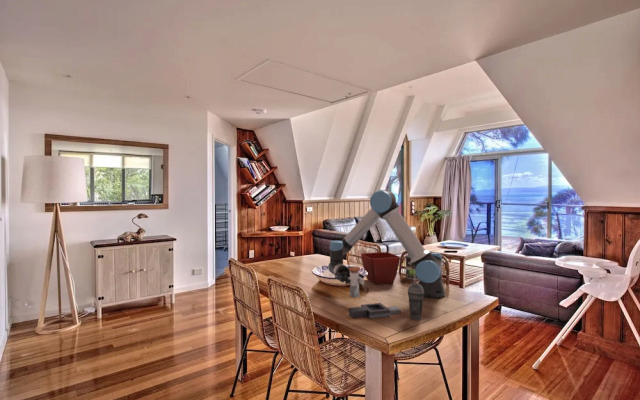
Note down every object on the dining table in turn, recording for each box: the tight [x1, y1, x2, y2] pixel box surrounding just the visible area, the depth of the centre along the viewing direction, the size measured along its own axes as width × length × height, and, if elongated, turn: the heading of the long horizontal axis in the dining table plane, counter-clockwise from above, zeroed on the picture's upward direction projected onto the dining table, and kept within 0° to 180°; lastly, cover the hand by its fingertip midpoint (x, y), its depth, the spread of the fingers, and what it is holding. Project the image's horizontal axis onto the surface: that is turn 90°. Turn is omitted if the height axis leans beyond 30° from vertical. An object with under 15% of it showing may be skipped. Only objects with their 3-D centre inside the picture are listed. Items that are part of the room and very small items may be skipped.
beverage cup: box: [407, 273, 425, 321], centre depth 150 cm, size 7×7×20 cm
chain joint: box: [348, 302, 402, 319], centre depth 156 cm, size 24×10×3 cm, turn 106°
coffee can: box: [405, 254, 420, 281], centre depth 220 cm, size 10×10×14 cm
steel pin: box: [348, 265, 361, 299], centre depth 166 cm, size 6×6×14 cm
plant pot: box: [360, 251, 401, 285], centre depth 211 cm, size 19×19×17 cm
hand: (358, 282), depth 161 cm, fingers closed on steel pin, 4 cm apart
